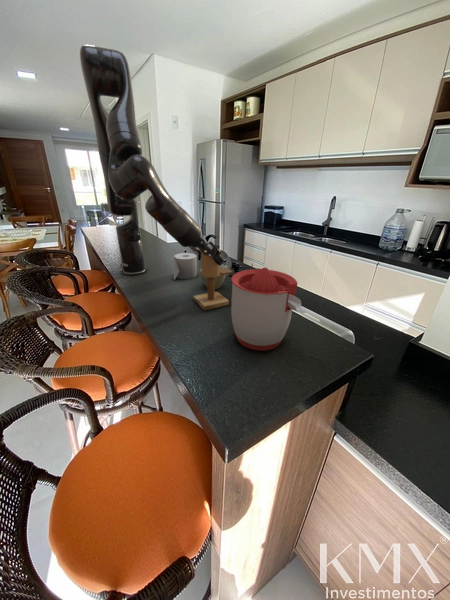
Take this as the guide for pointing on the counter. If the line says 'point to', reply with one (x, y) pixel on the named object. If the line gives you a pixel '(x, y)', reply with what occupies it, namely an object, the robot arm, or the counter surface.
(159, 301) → the counter surface
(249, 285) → the citrus juicer
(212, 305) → the paper towel holder
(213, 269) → the cap
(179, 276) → the toilet tissue
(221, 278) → the beige bowl
